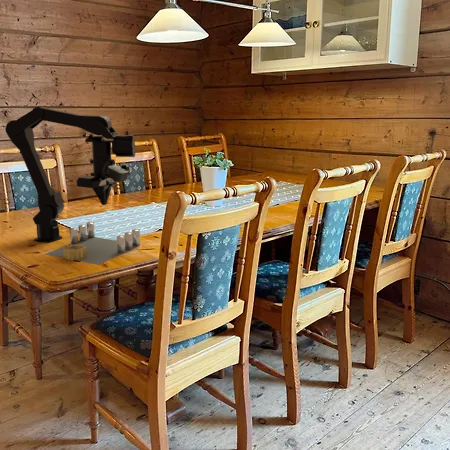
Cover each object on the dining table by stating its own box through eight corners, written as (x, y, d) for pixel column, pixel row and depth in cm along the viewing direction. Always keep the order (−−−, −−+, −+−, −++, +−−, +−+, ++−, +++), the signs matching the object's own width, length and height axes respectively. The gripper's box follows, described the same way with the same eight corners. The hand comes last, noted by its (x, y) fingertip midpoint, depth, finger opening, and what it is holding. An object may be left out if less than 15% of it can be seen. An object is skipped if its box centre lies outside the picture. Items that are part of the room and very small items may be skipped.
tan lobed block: (59, 259, 142) (59, 249, 141) (71, 252, 148) (70, 243, 148) (79, 261, 141) (79, 251, 140) (90, 254, 147) (89, 244, 146)
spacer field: (69, 244, 156) (68, 229, 155) (90, 235, 165) (89, 221, 164) (122, 253, 148) (121, 238, 147) (141, 244, 157) (141, 229, 156)
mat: (44, 254, 147) (44, 253, 147) (90, 236, 165) (90, 236, 165) (98, 265, 139) (98, 264, 139) (140, 245, 157) (140, 244, 157)
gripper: (104, 162, 143) (106, 214, 147) (140, 155, 159) (141, 202, 163) (73, 159, 147) (76, 209, 151) (112, 152, 164) (114, 198, 168)
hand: (104, 204), depth 158 cm, fingers closed
